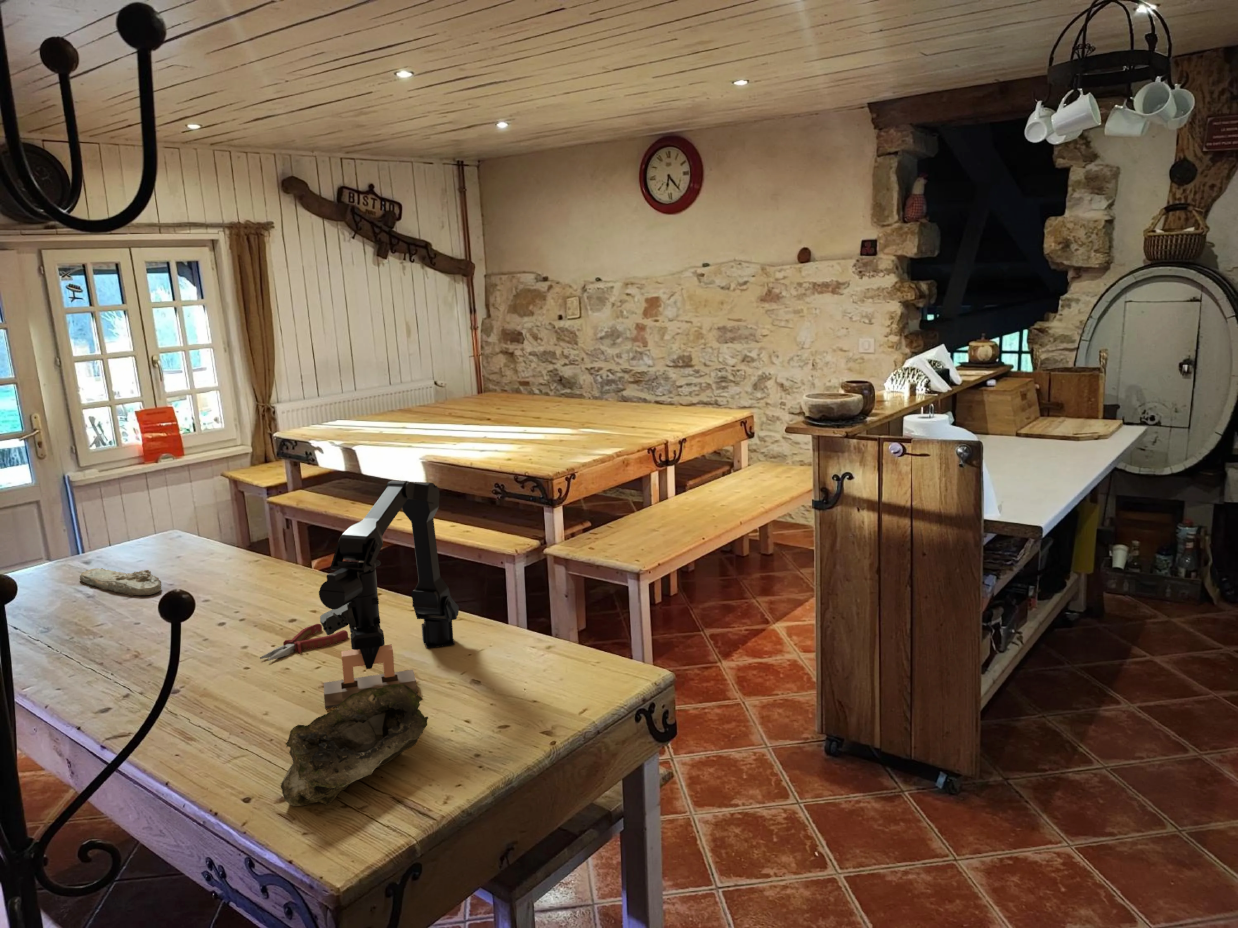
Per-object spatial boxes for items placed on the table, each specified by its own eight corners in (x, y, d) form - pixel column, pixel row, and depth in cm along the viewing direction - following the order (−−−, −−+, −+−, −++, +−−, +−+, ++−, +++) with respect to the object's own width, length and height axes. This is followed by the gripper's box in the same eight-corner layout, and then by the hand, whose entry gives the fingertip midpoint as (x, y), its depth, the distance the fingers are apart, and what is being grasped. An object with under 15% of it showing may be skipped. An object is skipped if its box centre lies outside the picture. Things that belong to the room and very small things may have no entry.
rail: (413, 682, 190) (413, 669, 190) (416, 694, 185) (416, 680, 184) (324, 696, 185) (323, 682, 184) (325, 708, 179) (323, 694, 179)
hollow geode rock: (420, 765, 166) (381, 696, 170) (452, 734, 159) (411, 662, 163) (284, 834, 144) (243, 753, 148) (315, 801, 137) (271, 717, 141)
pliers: (248, 659, 206) (247, 648, 206) (318, 631, 223) (317, 621, 223) (280, 669, 200) (279, 658, 200) (350, 639, 217) (350, 629, 217)
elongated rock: (104, 578, 275) (71, 589, 266) (100, 561, 274) (67, 572, 265) (174, 588, 257) (141, 600, 249) (170, 571, 256) (137, 582, 247)
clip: (393, 671, 187) (391, 644, 186) (394, 677, 184) (392, 649, 183) (343, 678, 184) (341, 651, 183) (344, 684, 181) (341, 656, 180)
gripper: (320, 583, 187) (326, 654, 190) (321, 612, 170) (327, 690, 173) (375, 577, 190) (380, 646, 193) (381, 605, 173) (387, 681, 176)
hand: (368, 665), depth 184 cm, fingers closed on clip, 3 cm apart
